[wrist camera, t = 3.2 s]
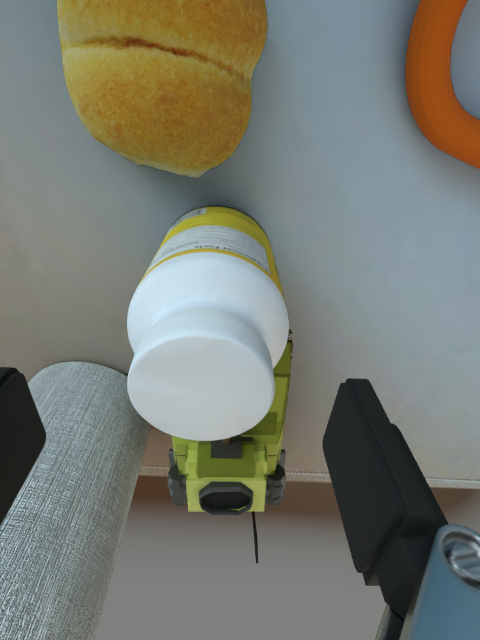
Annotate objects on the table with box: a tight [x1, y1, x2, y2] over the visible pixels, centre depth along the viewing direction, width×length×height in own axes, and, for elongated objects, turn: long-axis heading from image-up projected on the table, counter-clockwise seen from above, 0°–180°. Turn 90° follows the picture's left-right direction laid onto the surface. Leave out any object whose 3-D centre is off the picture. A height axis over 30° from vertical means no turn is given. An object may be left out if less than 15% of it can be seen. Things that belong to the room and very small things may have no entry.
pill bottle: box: [127, 204, 289, 441], centre depth 15 cm, size 6×6×12 cm
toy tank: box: [167, 330, 293, 563], centre depth 22 cm, size 8×15×10 cm, turn 179°
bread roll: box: [57, 0, 268, 178], centre depth 13 cm, size 8×9×4 cm
